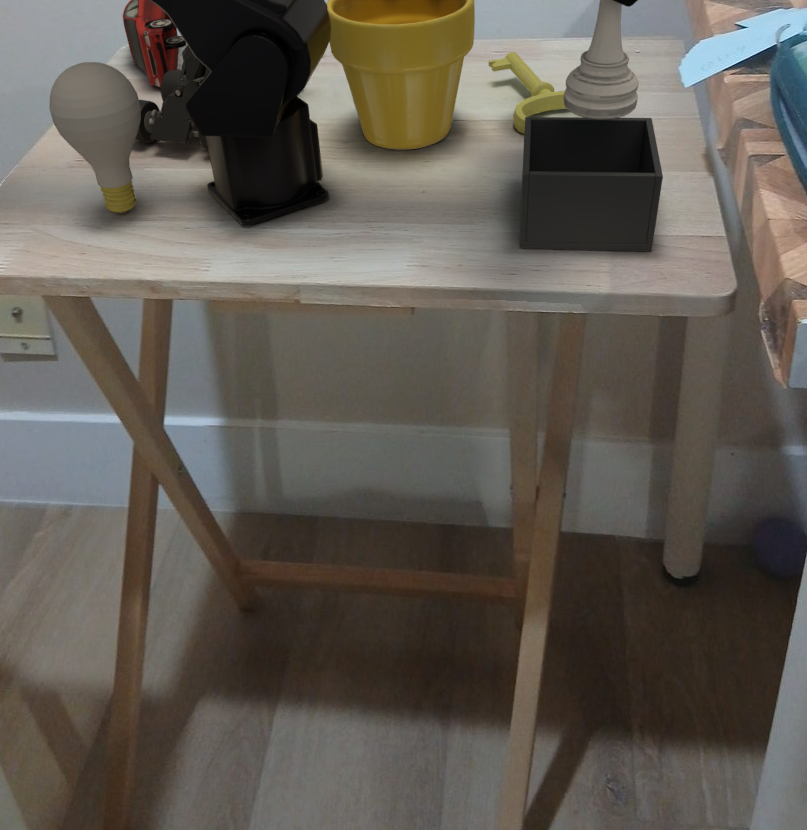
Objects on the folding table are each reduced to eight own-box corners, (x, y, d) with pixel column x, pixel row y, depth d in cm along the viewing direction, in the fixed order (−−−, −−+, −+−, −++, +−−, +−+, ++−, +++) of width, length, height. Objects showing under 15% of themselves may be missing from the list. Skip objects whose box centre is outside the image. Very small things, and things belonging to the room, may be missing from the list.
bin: (519, 248, 57) (522, 174, 54) (522, 187, 63) (525, 116, 60) (651, 251, 57) (663, 175, 53) (642, 189, 62) (651, 117, 59)
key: (511, 73, 78) (512, 48, 77) (618, 120, 71) (621, 92, 69) (444, 97, 75) (443, 71, 74) (548, 148, 68) (550, 120, 66)
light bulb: (173, 192, 65) (140, 48, 59) (150, 232, 61) (111, 81, 54) (99, 192, 66) (58, 48, 59) (70, 231, 62) (23, 82, 55)
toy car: (178, -31, 87) (124, -26, 86) (171, 34, 76) (109, 40, 76) (191, 28, 91) (139, 34, 90) (186, 98, 80) (127, 104, 80)
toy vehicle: (307, 84, 78) (295, -27, 73) (218, 161, 68) (195, 39, 62) (222, 74, 81) (204, -34, 75) (124, 148, 70) (94, 29, 65)
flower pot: (355, 172, 66) (343, 32, 60) (325, 116, 74) (311, -15, 67) (493, 149, 68) (495, 10, 62) (450, 96, 76) (448, -32, 69)
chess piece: (637, 121, 55) (662, -64, 48) (561, 118, 55) (576, -65, 49) (635, 92, 58) (659, -86, 51) (564, 89, 59) (579, -87, 52)
